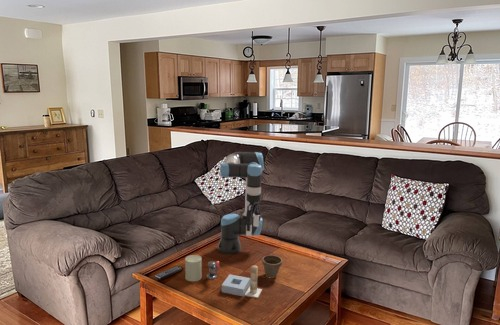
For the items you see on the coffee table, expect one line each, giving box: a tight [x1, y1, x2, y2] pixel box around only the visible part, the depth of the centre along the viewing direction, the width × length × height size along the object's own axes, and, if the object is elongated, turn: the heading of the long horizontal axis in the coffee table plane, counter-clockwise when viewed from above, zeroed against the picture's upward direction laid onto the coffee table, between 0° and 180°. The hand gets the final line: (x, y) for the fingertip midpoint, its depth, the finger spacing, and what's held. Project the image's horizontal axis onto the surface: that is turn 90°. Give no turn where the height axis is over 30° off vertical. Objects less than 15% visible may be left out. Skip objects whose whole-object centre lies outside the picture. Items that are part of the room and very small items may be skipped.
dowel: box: [249, 264, 259, 294], centre depth 194 cm, size 4×4×14 cm
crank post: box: [205, 267, 218, 280], centre depth 210 cm, size 6×6×6 cm
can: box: [184, 254, 203, 282], centre depth 208 cm, size 9×9×12 cm
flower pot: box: [261, 254, 283, 279], centre depth 213 cm, size 12×11×10 cm
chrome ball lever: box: [207, 260, 220, 272], centre depth 206 cm, size 4×10×6 cm, turn 31°
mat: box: [244, 286, 263, 299], centre depth 196 cm, size 8×7×1 cm
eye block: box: [221, 273, 251, 297], centre depth 199 cm, size 12×12×4 cm
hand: (252, 231), depth 201 cm, fingers open, 13 cm apart
